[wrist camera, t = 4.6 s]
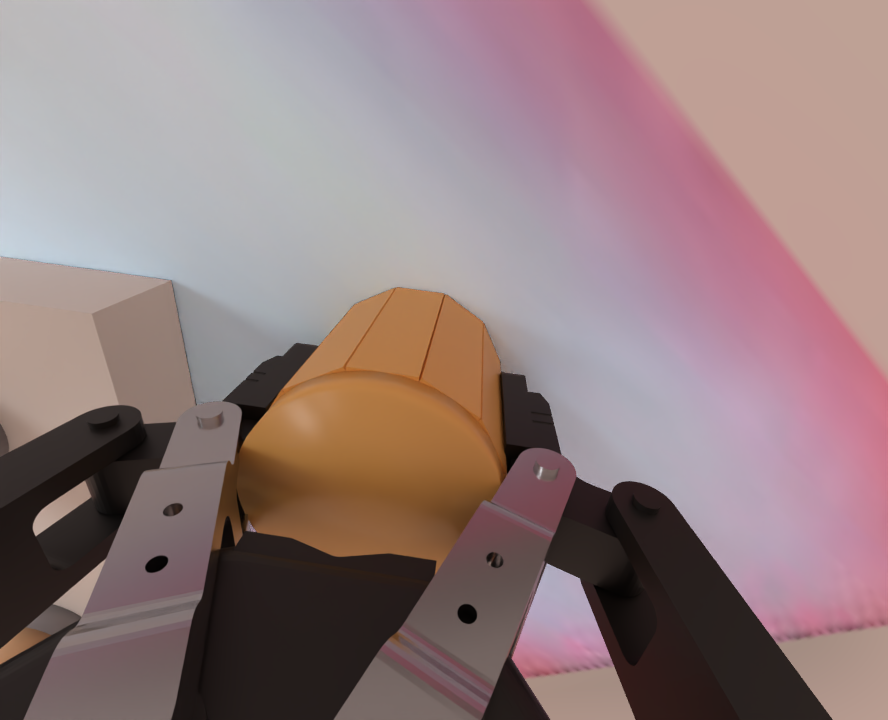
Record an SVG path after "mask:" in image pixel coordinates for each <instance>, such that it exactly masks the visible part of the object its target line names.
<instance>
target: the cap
mask: <svg viewBox="0 0 888 720" xmlns="http://www.w3.org/2000/svg"><path fill="white" fill-rule="evenodd" d="M500 373H501V367H500V360H499V358H498V355H497V353H496V351H495V348H494V346H493V343H492V341H491V339H490V336H489V334H488V332H487V329H486V327H485V324H484V323H483V321H481V320H480V319H478V318H477V317H476V316H474V315H473V314H472V313H470V312H469V311H468V310H466V309H465V308H464V307H462V306H461V305H460V304H458V303H457V302H456V301H454V300H453V299H451V298H450V297H449V296H447V295H445V296H444V293H436V292H429V291H422V290H414V289H407V288H400V287H397V288H393V289H390V290H388V291H385V292H383V293H381V294H378V295H376V296H373V297H371V298H369V299H366V300H364V301H361V302H359V303H356V304H355V305H353V307H352V308H351V309H350V310H349V311H348V312H347V314H346V315H345V316H344V317H343V318H342V319H341V321H340V322H339V323H338V324H337V325H336V326H335V328H334V329H333V330H332V331H331V332H330V333H329V335H328V336H327V337H326V338H325V339H324V341H323V342H322V343H321V344H320V345H319V346H318V348H317V349H316V350H315V351H314V352H313V353H312V355H311V356H310V357H309V358H308V359H307V360H306V362H305V363H304V364H303V365H302V366H301V367H300V369H299V370H298V371H297V372H296V373H295V374H294V376H293V377H292V378H291V379H290V380H289V382H288V383H287V384H286V385H285V386H284V387H283V389H282V390H281V391H280V393H279V394H278V396H277V397H276V399H275V400H274V402H273V403H272V405H271V406H270V408H269V410H268V411H267V412H266V413H265V414H264V416H263V417H262V418H261V419H260V420H259V422H258V423H257V424H256V425H255V426H254V428H253V429H252V430H251V432H250V433H249V434H248V436H247V437H246V439H245V441H244V443H243V445H242V447H241V449H240V452H239V460H240V463H239V470H238V477H237V492H238V496H239V500H240V503H241V505H242V508H243V510H244V512H245V514H248V519H249V521H250V523H251V525H252V526H253V527H254V529H255V530H256V531H257V533H263V534H270V535H276V536H282V537H289V538H293V539H295V540H298V541H300V542H302V543H305V544H307V545H309V546H311V547H314V548H316V549H318V550H321V551H323V552H325V553H328V554H330V555H332V556H336V557H345V556H359V555H372V554H386V553H391V554H397V555H404V556H410V557H416V558H423V559H429V560H436V561H437V562H436V570H435V574H436V573H437V571H438V569H439V568H440V566H441V565H442V563H443V562H444V560H445V559H446V557H447V555H448V554H449V552H450V551H451V549H452V548H453V546H454V545H455V543H456V541H457V540H458V538H459V537H460V535H461V534H462V532H463V531H464V529H465V527H466V526H467V524H468V523H469V521H470V520H471V518H472V517H473V515H474V513H475V512H476V510H477V509H478V507H479V506H480V504H481V503H482V502H483V501H484V500H485V499H487V500H489V501H491V500H492V499H493V497H494V495H495V494H496V492H497V491H498V489H499V487H500V486H501V484H502V482H503V481H504V479H505V478H506V476H507V465H506V455H505V452H504V434H503V417H502V399H501V382H500Z"/></svg>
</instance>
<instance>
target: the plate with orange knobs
mask: <svg viewBox="0 0 888 720" xmlns="http://www.w3.org/2000/svg"><path fill="white" fill-rule="evenodd" d="M113 405H127V406H132V407H135V408H137V409H138V410H139V411H140V412H141V415H142V418H143V422H144V424H150V423H167V422H177V420H178V418H179V416H180V415H181V414H182V413H183V412H185V411H186V410H188V409H189V408H192V407H194V406H196V403H195V398H194V393H193V388H192V383H191V378H190V373H189V368H188V363H187V358H186V353H185V348H184V343H183V338H182V333H181V328H180V323H179V317H178V312H177V307H176V302H175V297H174V292H173V287H172V282H171V280H164V279H157V278H150V277H143V276H136V275H128V274H121V273H114V272H107V271H100V270H92V269H85V268H78V267H71V266H64V265H56V264H49V263H42V262H35V261H28V260H20V259H13V258H6V257H0V457H1V456H3V455H5V454H7V453H8V452H10V451H12V450H14V449H16V448H18V447H20V446H22V445H24V444H26V443H28V442H30V441H31V440H33V439H35V438H37V437H39V436H41V435H43V434H45V433H47V432H49V431H51V430H53V429H55V428H56V427H58V426H60V425H62V424H64V423H66V422H68V421H70V420H72V419H74V418H76V417H78V416H79V415H81V414H84V413H86V412H88V411H91V410H94V409H97V408H101V407H106V406H113ZM89 498H91V495H90V492H89V490H88V487H87V484H86V482H85V481H83V482H82V483H80V484H79V485H77V486H76V487H74V488H73V489H71V490H70V491H68V492H67V493H65V494H64V495H62V496H61V497H59V498H58V499H56V500H55V501H53V502H52V503H50V504H49V505H47V506H46V507H45V508H43V509H42V510H41V511H40V513H39V514H38V515H37V517H36V518H35V520H34V523H33V531H34V534H35V536H37V535H38V534H40V533H41V532H42V531H44V530H45V529H47V528H48V527H50V526H51V525H52V524H54V523H55V522H57V521H58V520H60V519H61V518H62V517H64V516H65V515H67V514H68V513H69V512H71V511H72V510H74V509H75V508H77V507H78V506H79V505H81V504H82V503H84V502H85V501H87V500H88V499H89ZM105 560H106V559H105ZM105 560H104V561H102V562H101V563H100V564H99V565H98V566H97V567H95V568H94V569H93V570H92V571H91V572H90V573H88V574H87V575H86V576H85V577H84V578H83V579H81V580H80V581H79V582H78V583H77V584H76V585H74V586H73V587H72V588H71V589H70V590H69V591H67V592H66V593H65V594H64V595H63V596H62V597H60V598H59V599H58V600H57V601H56V602H55V603H53V604H52V605H51V606H50V607H49V608H48V609H46V610H45V611H44V612H43V613H42V614H41V615H39V616H38V617H37V618H36V619H35V620H34V621H32V622H31V623H30V624H29V625H28V626H27V627H25V628H24V629H23V630H22V631H21V632H20V633H18V634H17V635H16V636H15V637H14V638H13V639H11V640H10V641H9V642H8V643H7V644H6V645H4V646H3V647H2V648H1V649H0V664H2V663H3V662H5V661H7V660H9V659H10V658H12V657H14V656H16V655H18V654H19V653H21V652H23V651H25V650H26V649H28V648H30V647H32V646H33V645H35V644H37V643H39V642H40V641H42V640H44V639H46V638H47V637H49V636H51V635H53V634H54V633H56V632H58V631H60V630H62V629H63V628H65V627H67V626H69V625H70V624H72V623H74V622H76V621H77V620H79V619H81V617H82V615H83V613H84V610H85V608H86V606H87V603H88V601H89V599H90V596H91V594H92V591H93V589H94V587H95V584H96V582H97V579H98V577H99V575H100V572H101V570H102V567H103V565H104V563H105Z"/></svg>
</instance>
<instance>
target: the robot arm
mask: <svg viewBox="0 0 888 720" xmlns="http://www.w3.org/2000/svg"><path fill="white" fill-rule="evenodd" d="M317 348H318V346H316V345H309V344H302V343H296V344H294V345H293V346H292V347H291V348H290V349H289V350H288V352H287V353H286V354H285V355H284V356H275V357H273V358H271V359H269V360H267V361H265V362H263V363H262V364H261V365H259V366H258V367H257V368H256V369H255V370H254V372H253V373H251V374H250V375H249V376H248V377H247V378H246V380H244V381H243V382H242V383H241V384H240V385H239V386H237V387H236V388H235V389H234V390H233V391H232V392H231V393H230V394H229V395H228V396H227V397H226V398H225V399H224V400H223V401H214V402H207V403H203V404H199V405H196V406H194V407H192V408H189V409H188V410H186V411H185V412H183V413H182V414H181V415H180V416H179V418H178V420H177V422H167V423H150V424H144V422H143V418H142V415H141V412H140V411H139V410H138V409H137V408H135V407H132V406H127V405H113V406H106V407H101V408H97V409H94V410H91V411H88V412H86V413H84V414H81V415H79V416H78V417H76V418H74V419H72V420H70V421H68V422H66V423H64V424H62V425H60V426H58V427H56V428H55V429H53V430H51V431H49V432H47V433H45V434H43V435H41V436H39V437H37V438H35V439H33V440H31V441H30V442H28V443H26V444H24V445H22V446H20V447H18V448H16V449H14V450H12V451H10V452H8V453H7V454H5V455H3V456H1V457H0V649H1V648H2V647H3V646H4V645H6V644H7V643H8V642H9V641H10V640H11V639H13V638H14V637H15V636H16V635H17V634H18V633H20V632H21V631H22V630H23V629H24V628H25V627H27V626H28V625H29V624H30V623H31V622H32V621H34V620H35V619H36V618H37V617H38V616H39V615H41V614H42V613H43V612H44V611H45V610H46V609H48V608H49V607H50V606H51V605H52V604H53V603H55V602H56V601H57V600H58V599H59V598H60V597H62V596H63V595H64V594H65V593H66V592H67V591H69V590H70V589H71V588H72V587H73V586H74V585H76V584H77V583H78V582H79V581H80V580H81V579H83V578H84V577H85V576H86V575H87V574H88V573H90V572H91V571H92V570H93V569H94V568H95V567H97V566H98V565H99V564H100V563H101V562H102V561H104V560H105V559H106V560H105V563H104V565H103V567H102V570H101V572H100V575H99V577H98V579H97V582H96V584H95V587H94V589H93V591H92V594H91V596H90V599H89V601H88V603H87V606H86V608H85V610H84V613H83V615H82V617H81V619H79V620H77V621H76V622H74V623H72V624H70V625H69V626H67V627H65V628H63V629H62V630H60V631H58V632H56V633H54V634H53V635H51V636H49V637H47V638H46V639H44V640H42V641H40V642H39V643H37V644H35V645H33V646H32V647H30V648H28V649H26V650H25V651H23V652H21V653H19V654H18V655H16V656H14V657H12V658H10V659H9V660H7V661H5V662H3V663H2V664H0V720H550V718H549V717H548V715H547V714H546V712H545V711H544V709H543V707H542V706H541V704H540V703H539V701H538V700H537V698H536V696H535V695H534V693H533V692H532V690H531V688H530V687H529V685H528V684H527V682H526V681H525V679H524V678H523V676H522V674H521V673H520V671H519V670H518V668H517V667H516V665H515V663H514V662H513V660H512V656H513V654H514V651H515V648H516V646H517V643H518V640H519V637H520V634H521V631H522V629H523V626H524V623H525V620H526V618H527V615H528V612H529V610H530V607H531V604H532V602H533V599H534V596H535V594H536V591H537V588H538V586H539V583H540V580H541V578H542V575H543V572H544V570H545V567H546V564H547V563H548V564H550V565H552V566H554V567H556V568H559V569H561V570H563V571H565V572H567V573H569V574H572V575H574V576H576V577H578V578H580V580H581V584H582V586H583V589H584V591H585V594H586V596H587V599H588V601H589V604H590V606H591V609H592V611H593V614H594V616H595V619H596V621H597V624H598V626H599V629H600V631H601V634H602V636H603V639H604V641H605V644H606V646H607V649H608V651H609V654H610V656H611V659H612V661H613V664H614V667H615V669H616V671H617V674H618V676H619V679H620V682H621V684H622V686H623V689H624V691H625V694H626V697H627V699H628V702H629V704H630V707H631V709H632V712H633V714H634V716H635V719H636V720H832V718H831V717H830V716H829V714H828V713H827V712H826V710H825V709H824V707H823V706H822V705H821V703H820V702H819V701H818V699H817V698H816V697H815V695H814V694H813V692H812V691H811V690H810V688H809V687H808V686H807V684H806V683H805V682H804V680H803V679H802V678H801V676H800V675H799V673H798V672H797V671H796V670H795V668H794V667H793V665H792V664H791V663H790V661H789V660H788V659H787V657H786V656H785V655H784V653H783V652H782V650H781V649H780V648H779V646H778V645H777V644H776V642H775V641H774V640H773V638H772V637H771V636H770V634H769V633H768V631H767V630H766V629H765V627H764V626H763V625H762V623H761V622H760V621H759V619H758V618H757V617H756V615H755V614H754V612H753V611H752V610H751V608H750V607H749V606H748V604H747V603H746V602H745V600H744V599H743V598H742V596H741V595H740V594H739V592H738V591H737V589H736V588H735V587H734V585H733V584H732V583H731V581H730V580H729V579H728V577H727V576H726V575H725V573H724V572H723V570H722V569H721V568H720V566H719V565H718V564H717V562H716V561H715V560H714V558H713V557H712V556H711V554H710V553H709V551H708V550H707V549H706V547H705V546H704V545H703V543H702V542H701V541H700V539H699V538H698V537H697V535H696V534H695V533H694V531H693V530H692V528H691V527H690V526H689V524H688V523H687V522H686V520H685V519H684V518H683V516H682V515H681V514H680V512H679V511H678V509H677V508H676V507H675V505H674V504H673V503H672V502H671V501H670V500H669V499H668V498H667V497H666V496H665V495H664V494H662V493H661V492H659V491H658V490H656V489H654V488H652V487H650V486H648V485H645V484H642V483H638V482H632V481H627V482H621V483H619V484H617V485H616V486H615V487H614V488H613V491H612V493H611V492H609V491H606V490H603V489H601V488H598V487H595V486H593V485H590V484H588V483H586V482H584V481H582V480H581V479H579V478H578V477H576V471H575V468H574V466H573V465H572V463H571V462H570V461H569V460H568V459H567V458H565V457H564V456H562V455H561V451H560V447H559V443H558V439H557V435H556V430H555V426H554V422H553V418H552V417H551V415H552V414H551V410H550V406H549V403H548V402H547V401H546V400H545V399H544V397H543V396H542V395H541V394H540V393H533V392H528V391H527V384H526V378H525V376H524V375H518V374H511V373H504V372H501V373H500V382H501V399H502V417H503V434H504V452H505V455H506V465H507V476H506V478H505V479H504V481H503V482H502V484H501V486H500V487H499V489H498V491H497V492H496V494H495V495H494V497H493V499H492V500H491V501H489V500H487V499H485V500H484V501H483V502H482V503H481V504H480V506H479V507H478V509H477V510H476V512H475V513H474V515H473V517H472V518H471V520H470V521H469V523H468V524H467V526H466V527H465V529H464V531H463V532H462V534H461V535H460V537H459V538H458V540H457V541H456V543H455V545H454V546H453V548H452V549H451V551H450V552H449V554H448V555H447V557H446V559H445V560H444V562H443V563H442V565H441V566H440V568H439V569H438V571H437V573H436V574H435V570H436V562H437V561H436V560H429V559H423V558H416V557H410V556H404V555H397V554H391V553H386V554H372V555H359V556H345V557H336V556H332V555H330V554H328V553H325V552H323V551H321V550H318V549H316V548H314V547H311V546H309V545H307V544H305V543H302V542H300V541H298V540H295V539H293V538H289V537H282V536H276V535H270V534H263V533H257V532H250V521H249V519H248V514H245V512H244V510H243V508H242V505H241V503H240V500H239V496H238V492H237V477H238V470H239V463H240V460H239V452H240V449H241V447H242V445H243V443H244V441H245V439H246V437H247V436H248V434H249V433H250V432H251V430H252V429H253V428H254V426H255V425H256V424H257V423H258V422H259V420H260V419H261V418H262V417H263V416H264V414H265V413H266V412H267V411H268V410H269V408H270V406H271V405H272V403H273V402H274V400H275V399H276V397H277V396H278V394H279V393H280V391H281V390H282V389H283V387H284V386H285V385H286V384H287V383H288V382H289V380H290V379H291V378H292V377H293V376H294V374H295V373H296V372H297V371H298V370H299V369H300V367H301V366H302V365H303V364H304V363H305V362H306V360H307V359H308V358H309V357H310V356H311V355H312V353H313V352H314V351H315V350H316V349H317ZM83 481H85V482H86V484H87V487H88V490H89V492H90V495H91V498H89V499H88V500H87V501H85V502H84V503H82V504H81V505H79V506H78V507H77V508H75V509H74V510H72V511H71V512H69V513H68V514H67V515H65V516H64V517H62V518H61V519H60V520H58V521H57V522H55V523H54V524H52V525H51V526H50V527H48V528H47V529H45V530H44V531H42V532H41V533H40V534H38V535H37V536H35V534H34V531H33V523H34V520H35V518H36V517H37V515H38V514H39V513H40V511H41V510H42V509H43V508H45V507H46V506H47V505H49V504H50V503H52V502H53V501H55V500H56V499H58V498H59V497H61V496H62V495H64V494H65V493H67V492H68V491H70V490H71V489H73V488H74V487H76V486H77V485H79V484H80V483H82V482H83Z"/></svg>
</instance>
